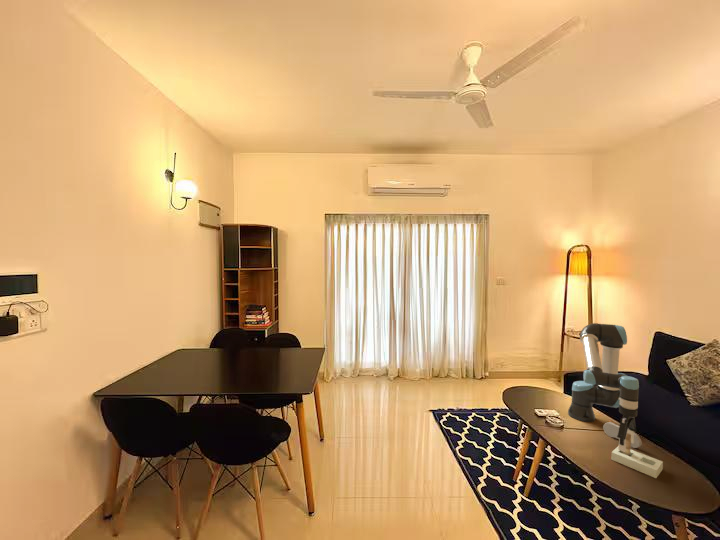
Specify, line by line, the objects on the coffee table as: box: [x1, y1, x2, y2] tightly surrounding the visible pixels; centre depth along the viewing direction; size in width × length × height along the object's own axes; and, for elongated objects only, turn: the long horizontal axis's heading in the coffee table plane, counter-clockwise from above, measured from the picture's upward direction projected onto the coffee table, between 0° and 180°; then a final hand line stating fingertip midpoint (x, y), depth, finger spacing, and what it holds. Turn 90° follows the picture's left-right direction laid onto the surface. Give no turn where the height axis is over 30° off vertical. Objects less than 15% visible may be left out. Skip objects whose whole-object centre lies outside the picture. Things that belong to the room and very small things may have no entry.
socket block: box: [610, 445, 664, 479], centre depth 169 cm, size 12×18×4 cm, turn 36°
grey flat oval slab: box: [602, 421, 642, 449], centre depth 191 cm, size 20×2×8 cm, turn 20°
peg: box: [621, 433, 632, 456], centre depth 173 cm, size 4×4×14 cm
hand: (626, 446), depth 173 cm, fingers open, 13 cm apart
